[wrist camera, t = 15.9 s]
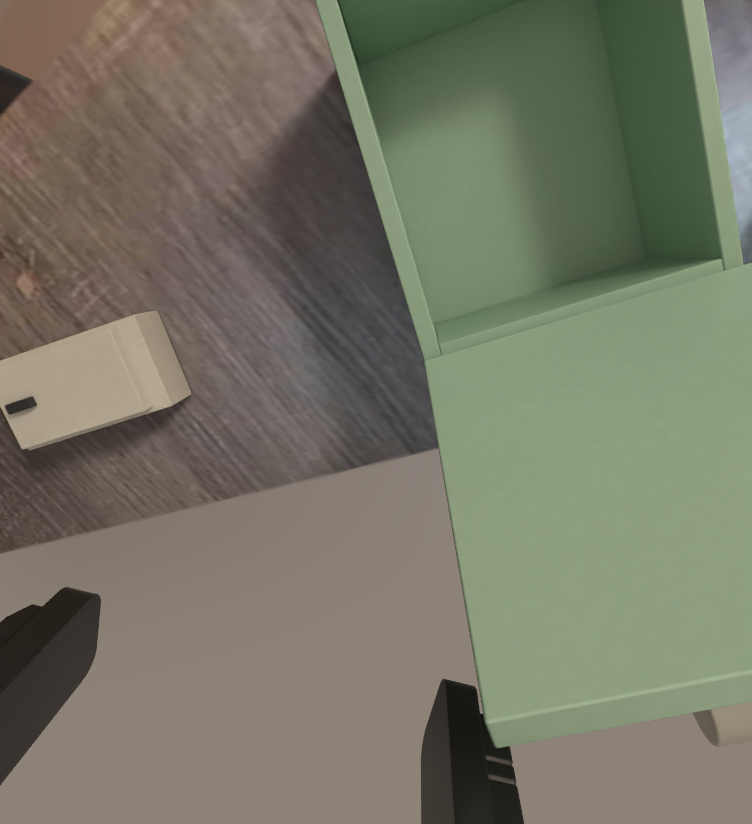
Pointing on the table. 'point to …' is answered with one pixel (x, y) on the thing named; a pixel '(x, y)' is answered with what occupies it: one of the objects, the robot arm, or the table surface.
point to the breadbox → (536, 154)
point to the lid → (607, 513)
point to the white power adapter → (91, 381)
